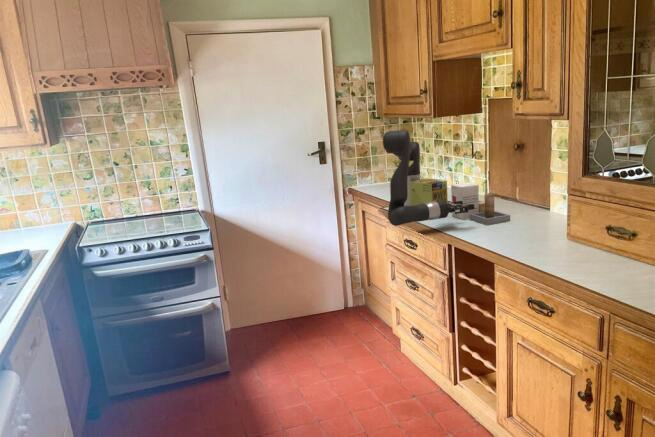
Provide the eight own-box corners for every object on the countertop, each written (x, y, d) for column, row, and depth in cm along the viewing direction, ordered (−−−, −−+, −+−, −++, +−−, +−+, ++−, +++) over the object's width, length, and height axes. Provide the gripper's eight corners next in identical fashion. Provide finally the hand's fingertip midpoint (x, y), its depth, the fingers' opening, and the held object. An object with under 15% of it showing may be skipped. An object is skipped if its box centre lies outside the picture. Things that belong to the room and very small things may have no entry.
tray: (470, 219, 230) (469, 214, 229) (492, 215, 234) (492, 210, 233) (486, 225, 219) (486, 219, 218) (510, 220, 223) (510, 215, 222)
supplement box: (451, 216, 240) (450, 184, 236) (468, 213, 242) (467, 181, 239) (462, 219, 231) (461, 186, 228) (479, 217, 234) (479, 184, 230)
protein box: (432, 216, 242) (431, 183, 239) (410, 212, 255) (408, 180, 251) (448, 212, 248) (447, 180, 244) (425, 208, 260) (424, 177, 257)
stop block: (467, 213, 243) (467, 200, 241) (474, 211, 244) (474, 199, 242) (480, 217, 233) (480, 204, 232) (487, 215, 235) (487, 202, 233)
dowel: (482, 218, 227) (482, 194, 225) (490, 217, 229) (490, 193, 226) (488, 220, 224) (488, 195, 221) (496, 219, 225) (496, 194, 222)
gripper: (443, 204, 208) (477, 198, 214) (425, 198, 222) (458, 193, 227) (444, 222, 210) (478, 216, 215) (426, 216, 223) (458, 210, 228)
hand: (467, 204), depth 221 cm, fingers open, 8 cm apart
